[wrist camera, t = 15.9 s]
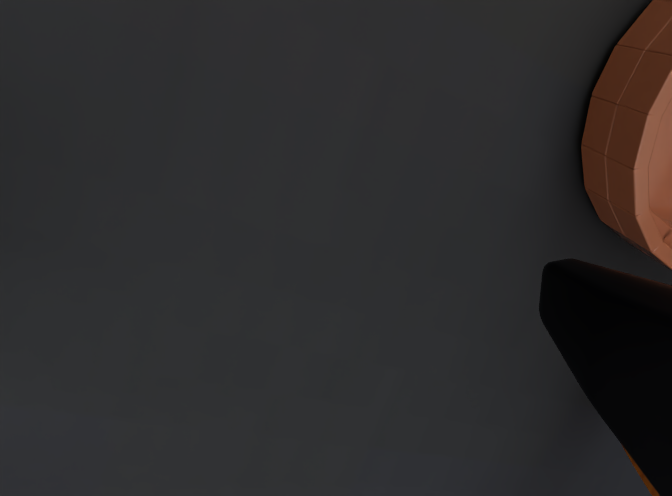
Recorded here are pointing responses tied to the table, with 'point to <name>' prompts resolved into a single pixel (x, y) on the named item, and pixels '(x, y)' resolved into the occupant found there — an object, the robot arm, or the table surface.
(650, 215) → the bowl
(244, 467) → the table surface
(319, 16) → the table surface
